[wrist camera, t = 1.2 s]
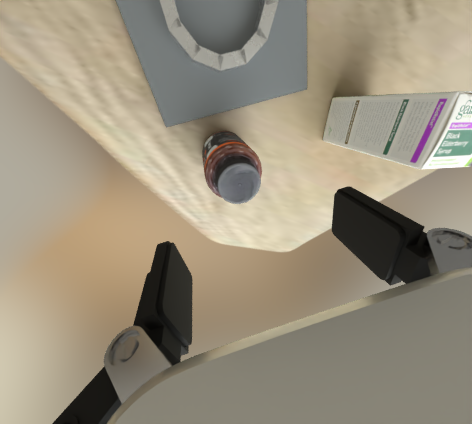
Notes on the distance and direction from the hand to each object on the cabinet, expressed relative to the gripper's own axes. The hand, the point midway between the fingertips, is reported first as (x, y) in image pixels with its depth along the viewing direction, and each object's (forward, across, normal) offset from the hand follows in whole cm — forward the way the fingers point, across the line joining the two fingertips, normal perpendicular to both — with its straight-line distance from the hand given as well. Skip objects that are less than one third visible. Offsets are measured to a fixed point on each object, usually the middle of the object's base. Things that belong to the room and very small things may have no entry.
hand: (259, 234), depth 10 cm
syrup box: (+18, -19, 0) cm, 26 cm away
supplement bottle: (+19, -1, 0) cm, 19 cm away
